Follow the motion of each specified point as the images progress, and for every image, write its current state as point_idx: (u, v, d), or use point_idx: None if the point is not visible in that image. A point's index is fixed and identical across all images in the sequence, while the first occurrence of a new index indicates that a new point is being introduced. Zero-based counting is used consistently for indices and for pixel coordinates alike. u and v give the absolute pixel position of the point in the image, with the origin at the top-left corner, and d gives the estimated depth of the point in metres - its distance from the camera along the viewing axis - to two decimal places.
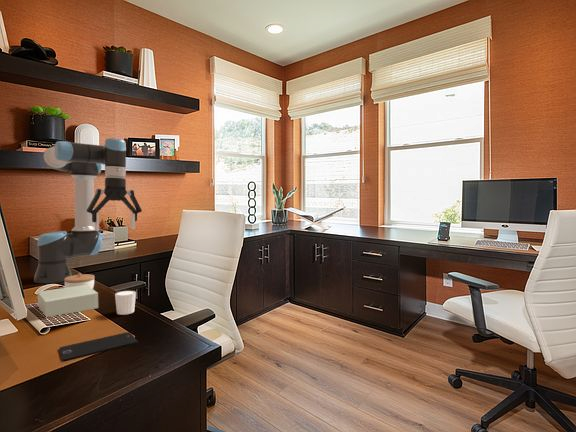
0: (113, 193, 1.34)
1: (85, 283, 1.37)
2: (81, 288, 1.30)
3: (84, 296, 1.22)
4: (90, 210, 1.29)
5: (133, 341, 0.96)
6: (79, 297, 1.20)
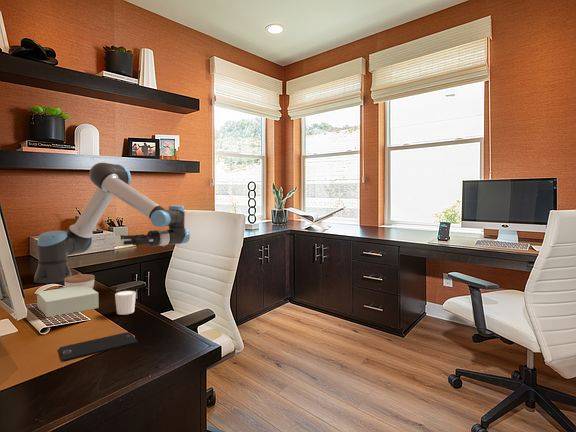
0: None
1: (85, 283, 1.37)
2: (81, 288, 1.30)
3: (84, 296, 1.22)
4: None
5: (133, 341, 0.96)
6: (80, 297, 1.21)
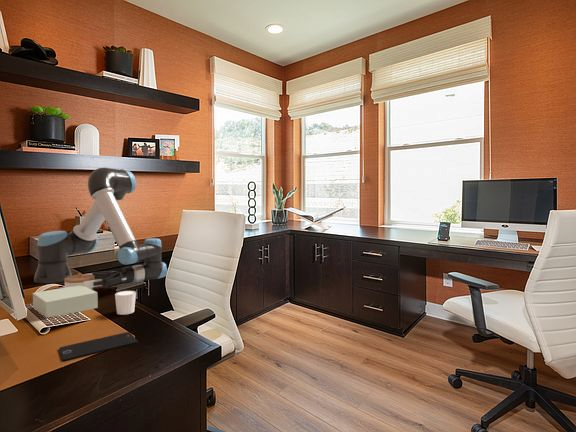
0: None
1: None
2: (78, 288, 1.30)
3: (84, 296, 1.22)
4: None
5: (133, 341, 0.96)
6: (79, 297, 1.21)
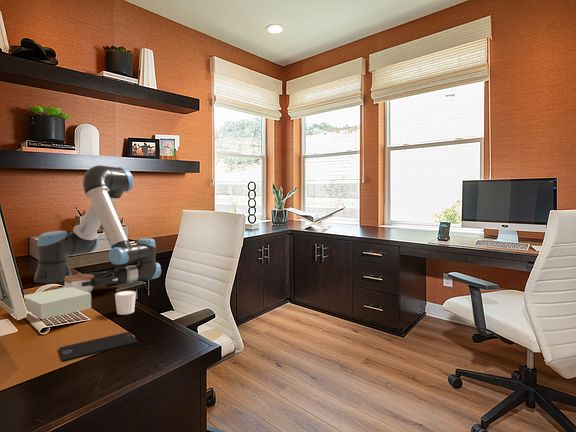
0: None
1: None
2: (68, 290, 1.28)
3: (78, 297, 1.21)
4: None
5: (133, 341, 0.96)
6: (73, 298, 1.19)
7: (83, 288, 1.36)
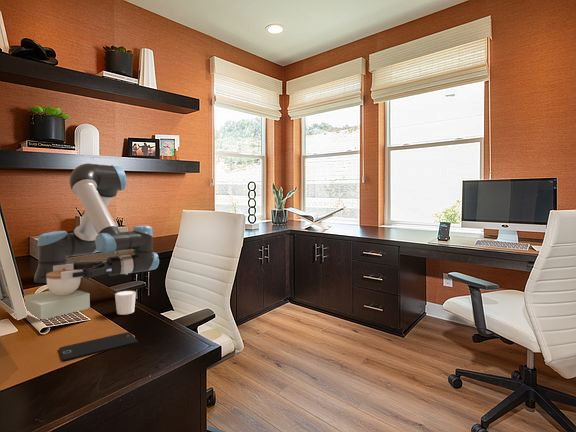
0: None
1: (70, 279, 1.21)
2: None
3: (77, 297, 1.21)
4: None
5: (133, 341, 0.96)
6: (72, 298, 1.19)
7: (68, 285, 1.20)
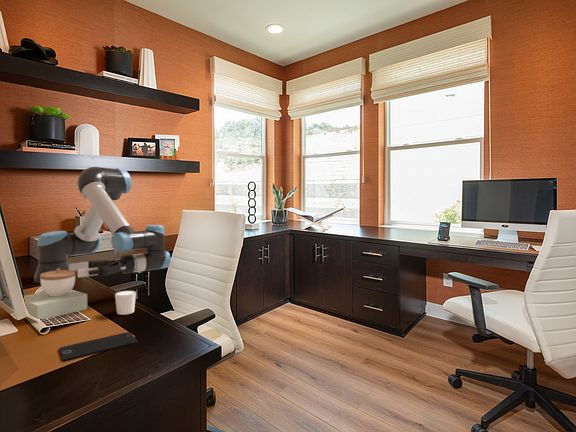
0: None
1: (64, 280, 1.19)
2: None
3: (74, 298, 1.20)
4: None
5: (133, 341, 0.96)
6: (69, 299, 1.18)
7: (62, 286, 1.19)
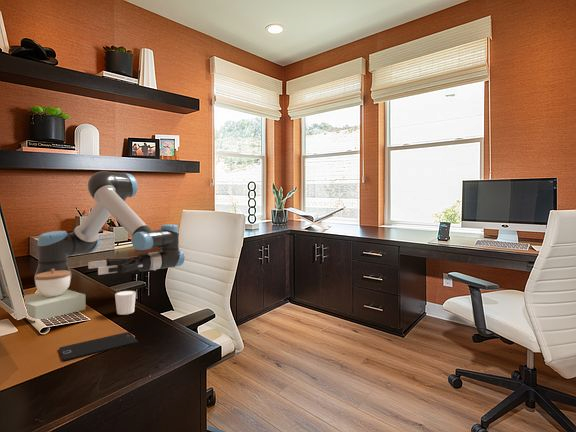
0: None
1: (60, 280, 1.19)
2: None
3: (72, 298, 1.19)
4: None
5: (133, 341, 0.96)
6: (67, 299, 1.18)
7: (58, 285, 1.18)
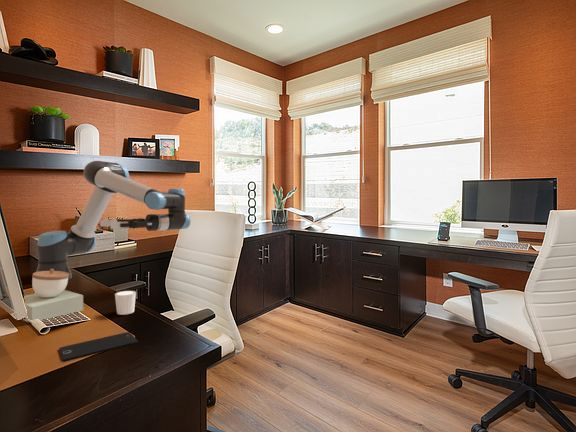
0: (143, 227, 1.48)
1: (61, 281, 1.18)
2: None
3: (70, 299, 1.18)
4: None
5: (133, 341, 0.96)
6: (65, 300, 1.17)
7: (58, 287, 1.17)
